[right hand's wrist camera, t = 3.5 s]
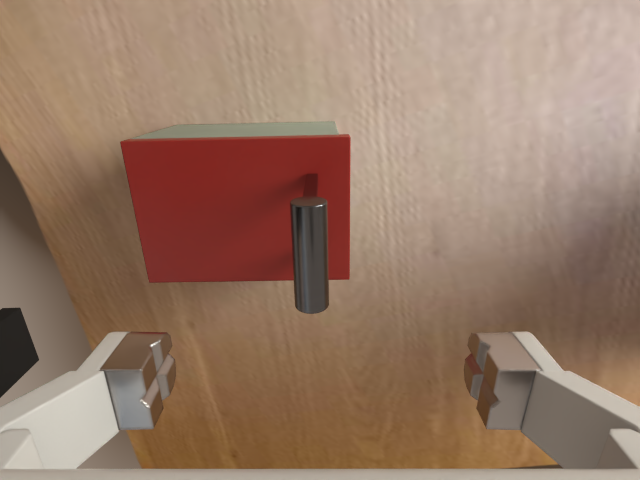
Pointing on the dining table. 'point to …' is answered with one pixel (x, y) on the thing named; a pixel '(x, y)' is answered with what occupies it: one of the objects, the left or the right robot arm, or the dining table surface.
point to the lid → (244, 210)
